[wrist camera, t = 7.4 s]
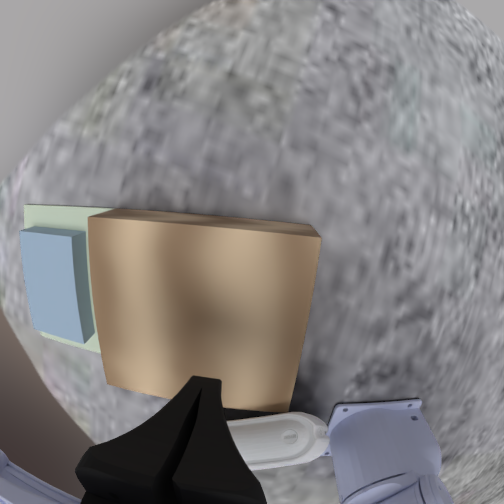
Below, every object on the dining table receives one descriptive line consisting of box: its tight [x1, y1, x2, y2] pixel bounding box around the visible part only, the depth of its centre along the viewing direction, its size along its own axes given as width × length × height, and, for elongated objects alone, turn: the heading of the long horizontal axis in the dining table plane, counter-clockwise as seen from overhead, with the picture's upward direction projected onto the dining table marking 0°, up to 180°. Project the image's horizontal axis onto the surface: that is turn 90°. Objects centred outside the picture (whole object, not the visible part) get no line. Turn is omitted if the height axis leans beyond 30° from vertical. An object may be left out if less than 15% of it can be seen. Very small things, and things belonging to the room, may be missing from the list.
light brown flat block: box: [88, 208, 322, 413], centre depth 20 cm, size 14×13×4 cm
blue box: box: [19, 226, 95, 344], centre depth 21 cm, size 6×9×2 cm, turn 174°
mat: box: [24, 204, 116, 353], centre depth 22 cm, size 10×13×1 cm
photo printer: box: [227, 412, 330, 470], centre depth 21 cm, size 10×4×12 cm
